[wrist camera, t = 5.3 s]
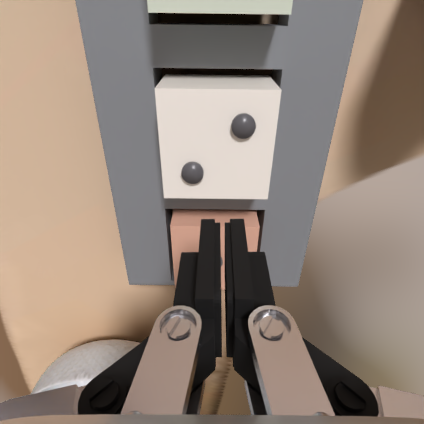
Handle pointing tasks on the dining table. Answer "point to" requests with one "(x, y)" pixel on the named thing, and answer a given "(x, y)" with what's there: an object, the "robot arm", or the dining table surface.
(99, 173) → the dining table surface
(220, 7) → the knob block
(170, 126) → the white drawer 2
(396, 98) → the dining table surface
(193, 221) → the pink block
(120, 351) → the cereal bowl
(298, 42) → the grey flat board
